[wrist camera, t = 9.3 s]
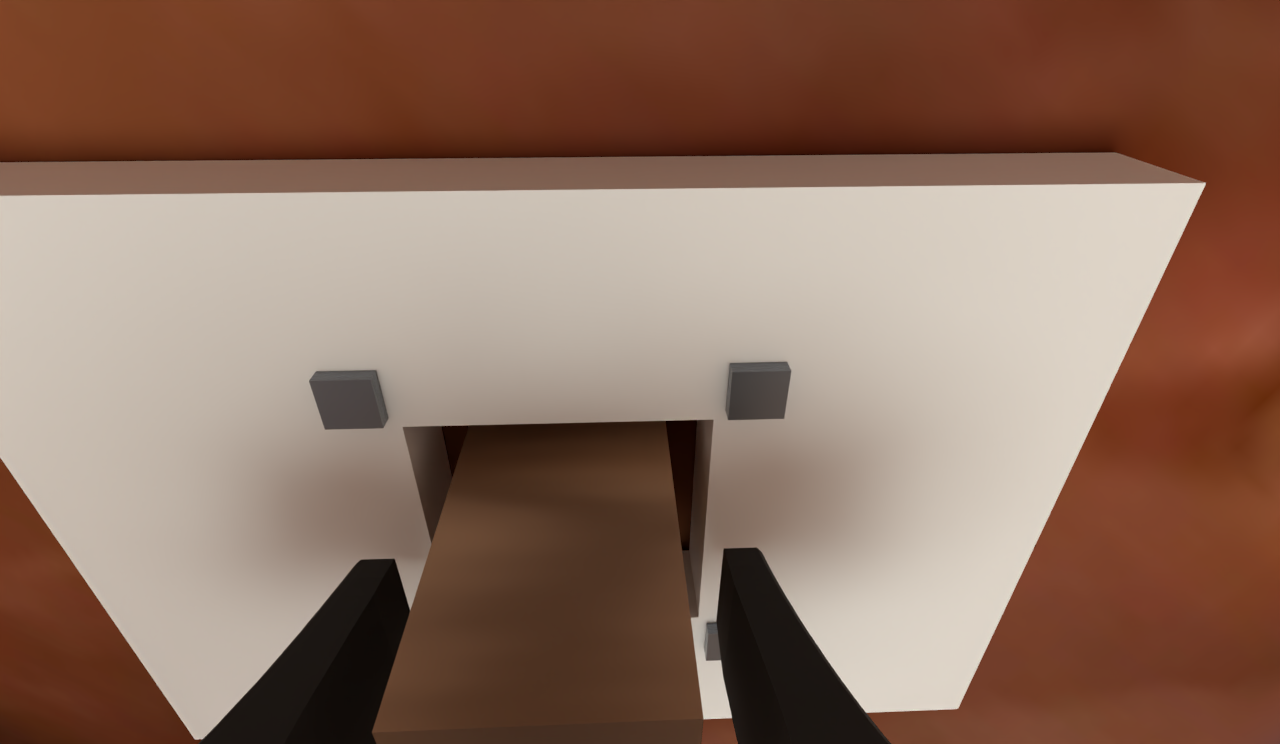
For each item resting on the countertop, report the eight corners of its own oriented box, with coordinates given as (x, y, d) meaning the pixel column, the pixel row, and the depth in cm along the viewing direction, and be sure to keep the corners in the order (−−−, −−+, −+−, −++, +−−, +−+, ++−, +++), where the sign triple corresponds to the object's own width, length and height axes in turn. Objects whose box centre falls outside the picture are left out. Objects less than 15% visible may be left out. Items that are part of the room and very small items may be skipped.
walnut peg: (499, 534, 16) (431, 875, 10) (476, 401, 13) (371, 732, 8) (659, 529, 16) (689, 861, 10) (662, 397, 14) (703, 717, 8)
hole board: (234, 667, 18) (187, 751, 16) (-52, 162, 10) (-203, 204, 9) (925, 642, 19) (963, 720, 17) (1115, 152, 11) (1222, 188, 9)
